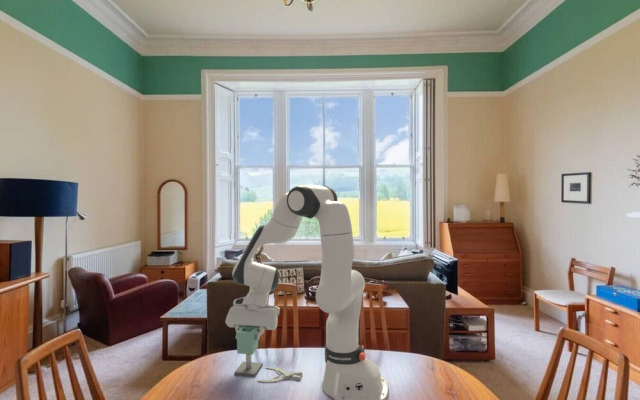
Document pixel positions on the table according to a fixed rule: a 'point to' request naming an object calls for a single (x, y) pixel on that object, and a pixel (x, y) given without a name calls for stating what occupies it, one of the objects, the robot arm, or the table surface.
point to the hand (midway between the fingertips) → (247, 339)
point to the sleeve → (247, 340)
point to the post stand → (248, 367)
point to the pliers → (286, 375)
